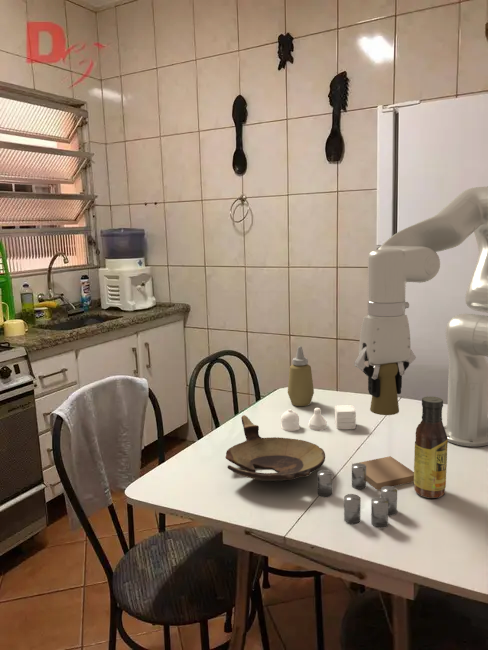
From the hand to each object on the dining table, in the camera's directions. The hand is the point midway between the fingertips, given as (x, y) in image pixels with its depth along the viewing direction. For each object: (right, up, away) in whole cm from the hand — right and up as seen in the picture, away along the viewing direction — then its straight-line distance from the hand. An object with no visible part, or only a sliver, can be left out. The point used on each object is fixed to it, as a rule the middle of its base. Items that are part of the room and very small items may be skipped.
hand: (384, 393), depth 115 cm
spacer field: (-7, -21, -8) cm, 24 cm away
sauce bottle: (+8, -20, -4) cm, 22 cm away
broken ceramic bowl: (-23, -19, +10) cm, 31 cm away
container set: (-10, -14, +33) cm, 37 cm away
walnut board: (+1, -19, +4) cm, 19 cm away
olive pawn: (0, -4, +1) cm, 4 cm away
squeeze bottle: (-12, -10, +52) cm, 54 cm away
